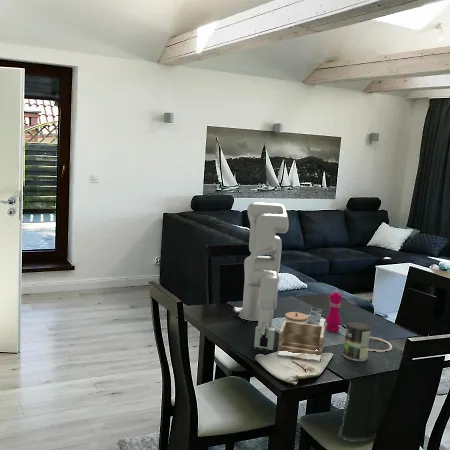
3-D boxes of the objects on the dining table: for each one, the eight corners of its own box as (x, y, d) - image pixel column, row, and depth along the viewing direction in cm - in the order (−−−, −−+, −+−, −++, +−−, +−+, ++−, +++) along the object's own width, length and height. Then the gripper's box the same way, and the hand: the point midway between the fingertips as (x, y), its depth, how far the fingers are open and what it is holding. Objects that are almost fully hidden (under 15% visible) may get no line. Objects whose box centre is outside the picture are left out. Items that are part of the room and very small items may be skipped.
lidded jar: (309, 330, 263) (311, 311, 261) (302, 337, 253) (304, 317, 252) (287, 325, 267) (289, 307, 266) (280, 332, 258) (282, 313, 256)
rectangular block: (254, 348, 236) (255, 328, 234) (255, 345, 239) (256, 325, 237) (272, 351, 234) (274, 330, 233) (273, 348, 237) (275, 328, 236)
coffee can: (347, 360, 229) (350, 328, 227) (340, 351, 239) (343, 320, 237) (371, 361, 230) (375, 329, 228) (363, 351, 240) (366, 321, 238)
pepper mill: (340, 333, 262) (344, 292, 259) (324, 331, 263) (328, 290, 260) (340, 328, 269) (344, 288, 266) (325, 326, 270) (329, 286, 267)
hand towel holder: (375, 346, 237) (341, 330, 254) (374, 355, 238) (340, 339, 255) (401, 340, 247) (366, 325, 263) (400, 349, 247) (365, 333, 264)
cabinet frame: (277, 354, 230) (279, 332, 229) (282, 342, 245) (284, 320, 244) (320, 361, 226) (322, 338, 225) (322, 348, 241) (325, 326, 240)
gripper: (262, 297, 242) (258, 337, 245) (255, 308, 226) (252, 350, 229) (279, 299, 240) (275, 339, 243) (273, 310, 225) (269, 353, 228)
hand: (264, 344), depth 236 cm, fingers closed on rectangular block, 3 cm apart
